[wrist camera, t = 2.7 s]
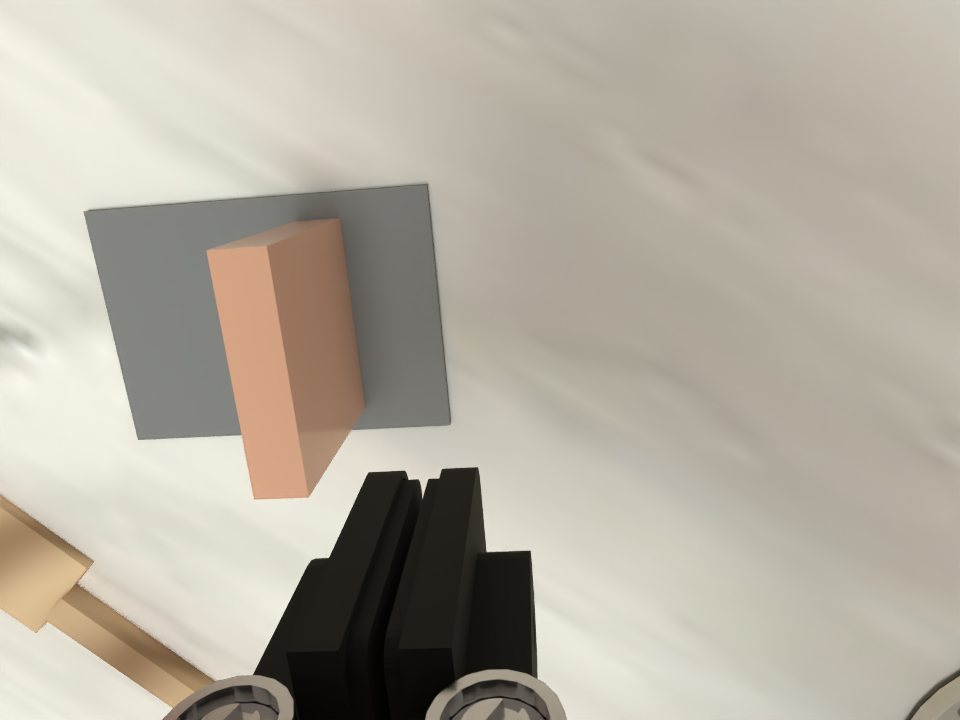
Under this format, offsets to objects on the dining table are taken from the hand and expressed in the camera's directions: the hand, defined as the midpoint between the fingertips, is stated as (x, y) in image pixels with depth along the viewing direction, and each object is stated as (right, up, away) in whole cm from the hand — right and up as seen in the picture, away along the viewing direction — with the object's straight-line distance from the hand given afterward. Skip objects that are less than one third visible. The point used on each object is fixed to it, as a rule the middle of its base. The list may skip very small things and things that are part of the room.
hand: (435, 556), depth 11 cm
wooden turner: (-18, -9, +24) cm, 32 cm away
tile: (-5, +5, +18) cm, 20 cm away
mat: (-8, +5, +19) cm, 21 cm away
